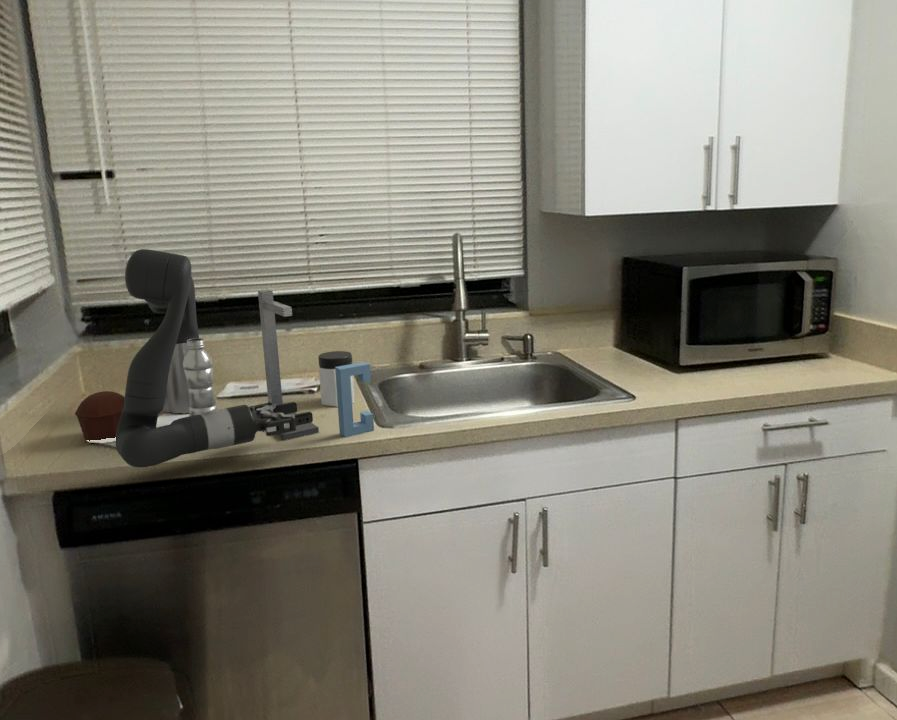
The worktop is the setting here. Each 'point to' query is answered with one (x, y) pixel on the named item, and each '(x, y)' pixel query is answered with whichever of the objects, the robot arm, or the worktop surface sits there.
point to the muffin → (100, 415)
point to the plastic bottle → (199, 378)
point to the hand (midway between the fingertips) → (303, 411)
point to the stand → (276, 357)
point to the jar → (332, 375)
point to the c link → (345, 399)
